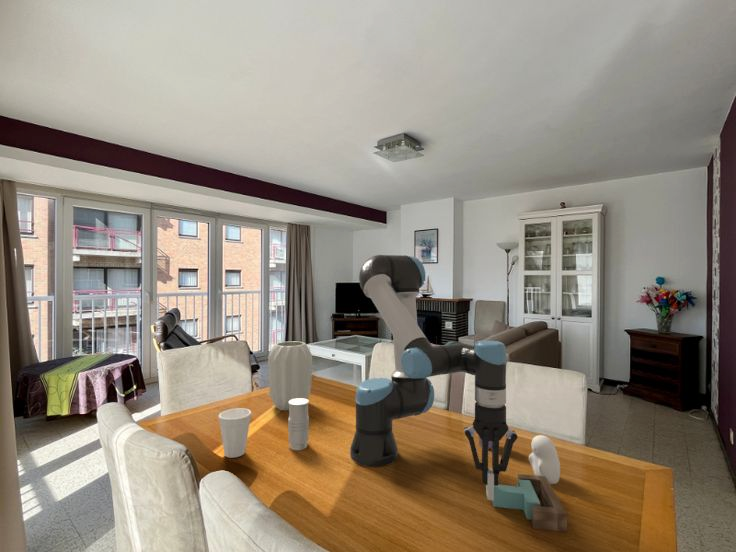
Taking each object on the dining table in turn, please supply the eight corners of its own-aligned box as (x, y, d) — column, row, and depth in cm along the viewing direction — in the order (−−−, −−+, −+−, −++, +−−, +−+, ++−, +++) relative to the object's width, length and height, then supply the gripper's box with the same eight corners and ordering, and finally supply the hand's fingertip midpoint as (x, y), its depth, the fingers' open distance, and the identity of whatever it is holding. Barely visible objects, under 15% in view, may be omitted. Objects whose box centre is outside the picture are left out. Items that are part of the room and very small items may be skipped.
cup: (211, 458, 117) (211, 416, 117) (232, 445, 126) (233, 406, 126) (237, 464, 113) (237, 421, 113) (257, 449, 123) (257, 410, 123)
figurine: (526, 472, 109) (526, 431, 109) (551, 471, 110) (551, 430, 110) (539, 485, 102) (539, 441, 102) (565, 484, 103) (565, 441, 103)
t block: (495, 515, 89) (496, 498, 89) (489, 491, 99) (489, 476, 99) (540, 520, 88) (540, 503, 88) (529, 495, 98) (529, 480, 98)
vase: (308, 414, 154) (308, 348, 154) (261, 414, 154) (261, 347, 154) (315, 399, 174) (315, 340, 174) (273, 398, 174) (274, 339, 174)
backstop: (533, 528, 85) (533, 510, 85) (517, 488, 101) (517, 473, 101) (566, 531, 84) (567, 514, 84) (545, 491, 100) (545, 476, 100)
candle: (283, 446, 125) (283, 401, 125) (300, 439, 130) (300, 396, 130) (296, 452, 121) (296, 406, 121) (313, 445, 126) (313, 401, 126)
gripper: (464, 406, 92) (464, 503, 91) (520, 410, 89) (520, 509, 89) (462, 397, 99) (462, 486, 99) (514, 399, 97) (514, 491, 97)
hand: (490, 496), depth 94 cm, fingers closed
